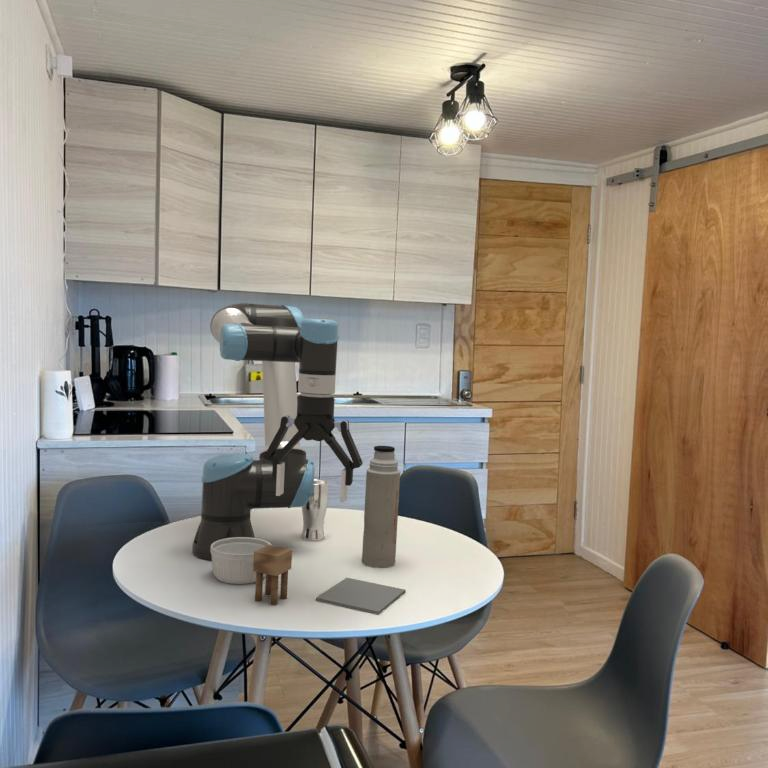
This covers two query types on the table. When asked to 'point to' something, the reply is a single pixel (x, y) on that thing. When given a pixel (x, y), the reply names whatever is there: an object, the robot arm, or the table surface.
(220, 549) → the ramekin
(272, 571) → the stool
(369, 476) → the thermos bottle
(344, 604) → the mat
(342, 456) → the robot arm
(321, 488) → the silver cocktail shaker
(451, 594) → the table surface
